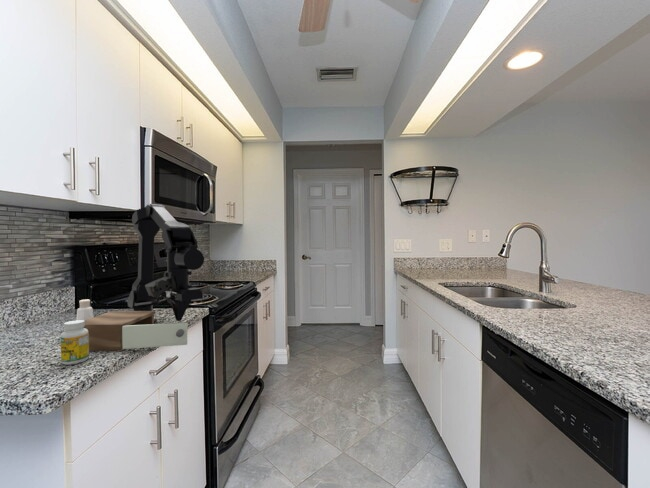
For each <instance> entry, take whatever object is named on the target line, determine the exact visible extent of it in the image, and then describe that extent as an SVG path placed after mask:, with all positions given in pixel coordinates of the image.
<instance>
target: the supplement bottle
mask: <svg viewBox="0 0 650 488" xmlns="http://www.w3.org/2000/svg"><path fill="white" fill-rule="evenodd" d="M84 326H85V321H84V320H76V319H75V320H71V321H66V322H64V323H63V329H64V331H62V333H61V334H60V337H59V338H60V363H62V365H66V366H68V365H69V366H70V365H75V364H79V363H83V362H86V361H87V360H89V357H90V351H89V332H88V330H87V329H86V328H84Z"/></svg>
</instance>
